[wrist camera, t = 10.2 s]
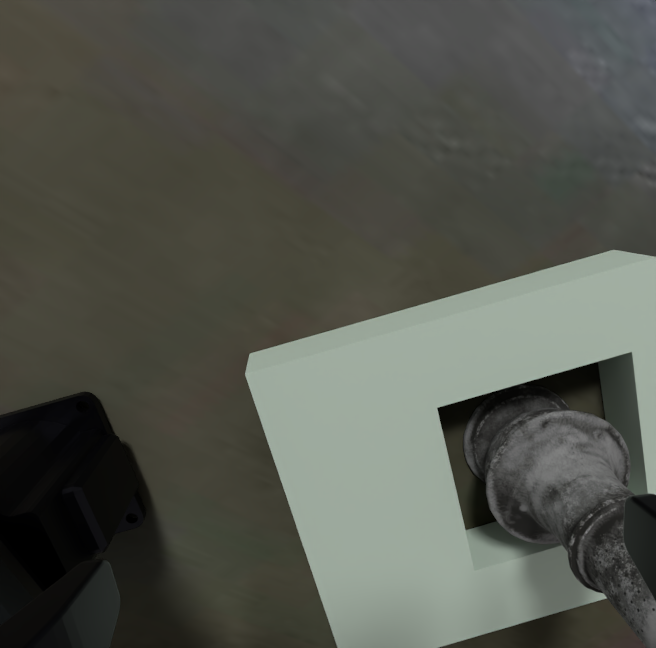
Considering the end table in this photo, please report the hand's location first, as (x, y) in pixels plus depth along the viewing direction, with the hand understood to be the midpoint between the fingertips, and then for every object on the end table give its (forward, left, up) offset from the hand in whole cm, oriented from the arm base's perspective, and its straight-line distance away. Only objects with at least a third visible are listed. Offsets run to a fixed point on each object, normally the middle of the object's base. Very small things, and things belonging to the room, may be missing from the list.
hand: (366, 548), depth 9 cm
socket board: (+5, -7, -13) cm, 16 cm away
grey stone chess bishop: (+8, -7, -13) cm, 17 cm away
